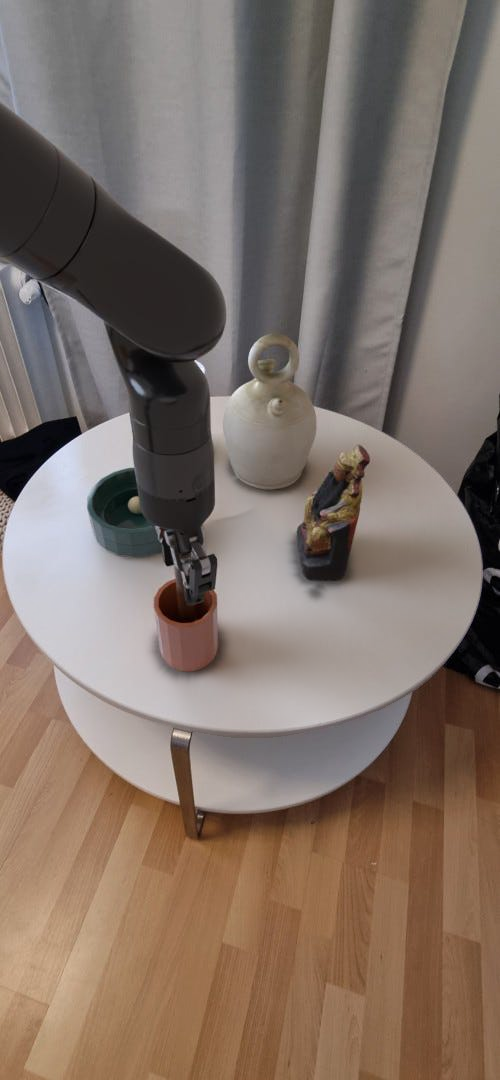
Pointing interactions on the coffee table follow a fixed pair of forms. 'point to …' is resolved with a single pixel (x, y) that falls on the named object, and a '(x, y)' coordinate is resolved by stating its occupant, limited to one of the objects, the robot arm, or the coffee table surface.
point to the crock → (186, 630)
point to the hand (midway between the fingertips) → (184, 581)
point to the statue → (332, 518)
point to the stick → (184, 610)
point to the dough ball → (134, 505)
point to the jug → (269, 421)
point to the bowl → (120, 517)
